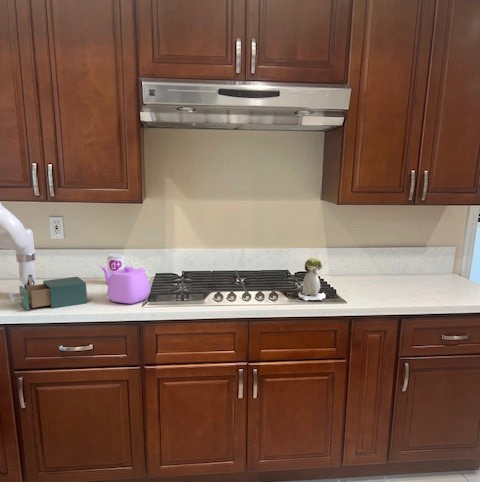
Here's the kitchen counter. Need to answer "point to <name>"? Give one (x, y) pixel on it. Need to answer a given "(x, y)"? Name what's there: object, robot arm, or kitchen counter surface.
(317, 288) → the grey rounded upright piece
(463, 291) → the kitchen counter surface
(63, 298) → the cabinet
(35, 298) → the drawer
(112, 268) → the supplement can
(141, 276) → the teapot
